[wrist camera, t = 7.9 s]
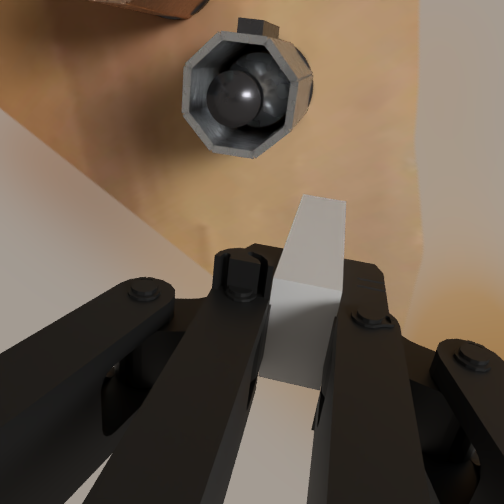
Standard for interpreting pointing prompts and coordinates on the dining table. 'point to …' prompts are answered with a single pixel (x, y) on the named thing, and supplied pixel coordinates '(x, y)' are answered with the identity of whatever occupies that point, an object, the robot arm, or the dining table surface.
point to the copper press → (160, 7)
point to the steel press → (221, 60)
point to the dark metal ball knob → (249, 92)
